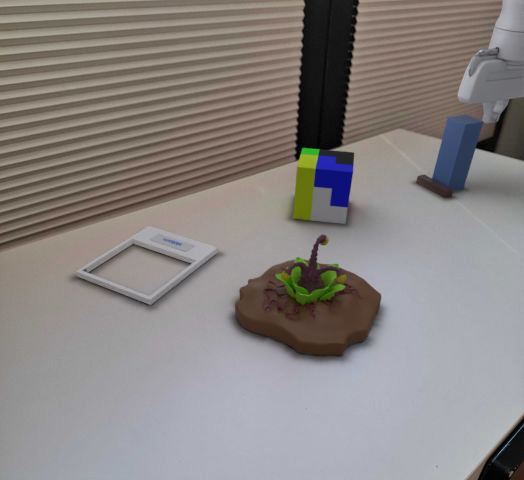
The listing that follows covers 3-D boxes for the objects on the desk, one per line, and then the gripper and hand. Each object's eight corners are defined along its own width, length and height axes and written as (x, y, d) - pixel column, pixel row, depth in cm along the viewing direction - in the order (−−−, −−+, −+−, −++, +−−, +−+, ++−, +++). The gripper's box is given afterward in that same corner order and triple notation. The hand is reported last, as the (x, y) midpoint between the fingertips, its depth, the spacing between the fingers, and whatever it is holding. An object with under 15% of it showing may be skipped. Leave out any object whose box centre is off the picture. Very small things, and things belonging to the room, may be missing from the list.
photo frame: (217, 246, 86) (149, 298, 74) (217, 252, 87) (150, 305, 75) (149, 224, 91) (75, 270, 79) (149, 230, 92) (76, 276, 80)
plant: (398, 301, 77) (415, 235, 70) (338, 372, 65) (351, 301, 58) (287, 260, 86) (292, 196, 78) (215, 316, 73) (213, 247, 66)
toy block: (447, 180, 114) (465, 114, 105) (463, 188, 111) (483, 121, 102) (430, 183, 112) (447, 117, 103) (446, 192, 109) (465, 124, 100)
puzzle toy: (345, 223, 96) (353, 172, 90) (293, 218, 97) (297, 167, 91) (346, 201, 104) (354, 152, 97) (298, 196, 105) (302, 147, 98)
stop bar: (422, 180, 113) (424, 174, 112) (452, 196, 107) (454, 189, 106) (416, 182, 113) (417, 175, 112) (445, 198, 107) (447, 191, 106)
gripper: (487, 53, 91) (464, 132, 100) (561, 46, 99) (534, 120, 108) (462, 46, 95) (442, 123, 104) (534, 40, 103) (510, 112, 112)
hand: (489, 122), depth 106 cm, fingers closed
